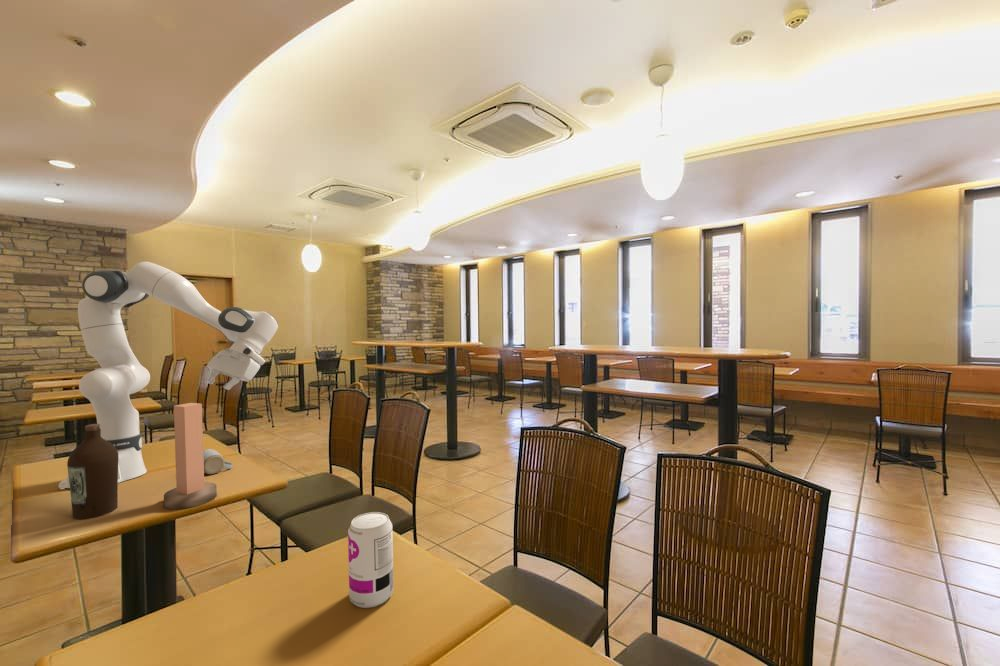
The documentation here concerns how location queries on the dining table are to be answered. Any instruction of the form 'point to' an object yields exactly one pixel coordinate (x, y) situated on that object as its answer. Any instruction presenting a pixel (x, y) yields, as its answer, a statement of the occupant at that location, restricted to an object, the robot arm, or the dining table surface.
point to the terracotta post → (189, 447)
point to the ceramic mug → (214, 462)
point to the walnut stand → (190, 497)
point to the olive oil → (93, 475)
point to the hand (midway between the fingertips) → (217, 385)
